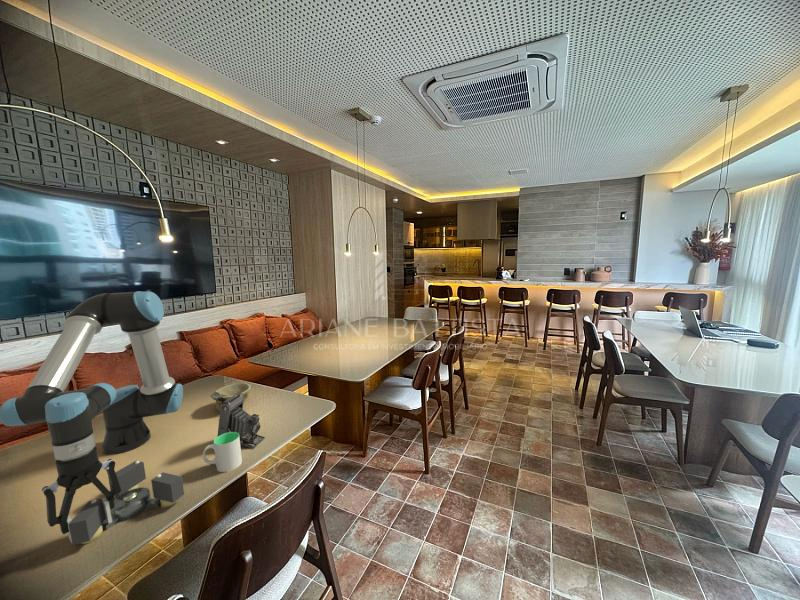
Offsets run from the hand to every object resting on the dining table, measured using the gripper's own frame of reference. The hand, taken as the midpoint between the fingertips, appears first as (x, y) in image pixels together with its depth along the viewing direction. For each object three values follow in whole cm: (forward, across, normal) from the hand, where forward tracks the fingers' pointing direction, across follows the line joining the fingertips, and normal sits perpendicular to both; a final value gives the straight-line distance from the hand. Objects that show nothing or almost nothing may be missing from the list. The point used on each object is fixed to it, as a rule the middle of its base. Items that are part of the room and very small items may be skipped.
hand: (91, 530), depth 85 cm
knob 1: (+2, 0, 0) cm, 2 cm away
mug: (+2, +34, -1) cm, 35 cm away
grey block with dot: (+2, +12, +12) cm, 17 cm away
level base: (+2, +8, +2) cm, 9 cm away
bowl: (+3, +62, +42) cm, 75 cm away
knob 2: (+2, +17, -4) cm, 17 cm away
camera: (+3, +48, +8) cm, 48 cm away
